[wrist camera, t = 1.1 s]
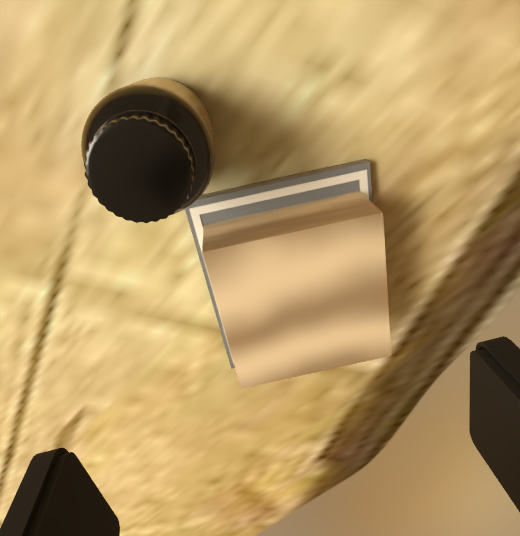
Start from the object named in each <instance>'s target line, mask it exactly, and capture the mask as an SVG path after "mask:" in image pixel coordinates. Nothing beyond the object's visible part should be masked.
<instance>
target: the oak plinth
mask: <svg viewBox="0 0 520 536" xmlns="http://www.w3.org/2000/svg"><path fill="white" fill-rule="evenodd" d="M202 254H203V257H204V261H205V264H206V268H207V271H208V275H209V278H210V282H211V285H212V289H213V292H214V296H215V299H216V303H217V306H218V310H219V313H220V317H221V320H222V324H223V327H224V331H225V334H226V338H227V341H228V345H229V348H230V352H231V355H232V359H233V362H234V366H235V369H236V373H237V376H238V380H239V383H240V387H241V389H242V388H247V387H251V386H256V385H261V384H265V383H270V382H274V381H279V380H283V379H288V378H292V377H297V376H301V375H306V374H310V373H315V372H319V371H324V370H328V369H333V368H337V367H342V366H346V365H351V364H355V363H360V362H364V361H369V360H373V359H378V358H382V357H387V356H391V342H390V325H389V307H388V290H387V272H386V255H385V237H384V220H383V212H382V211H381V210H380V209H379V208H377V207H376V206H375V205H374V204H373V203H372V202H371V201H370V200H368V199H367V198H366V197H365V196H364V195H363V194H362V193H361V192H359V191H356V192H352V193H347V194H343V195H338V196H334V197H329V198H325V199H320V200H315V201H311V202H306V203H302V204H297V205H293V206H288V207H284V208H279V209H274V210H270V211H265V212H261V213H256V214H252V215H247V216H243V217H238V218H233V219H229V220H224V221H220V222H215V223H211V224H206V225H204V228H203V246H202Z"/></svg>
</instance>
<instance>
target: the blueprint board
mask: <svg viewBox="0 0 520 536" xmlns="http://www.w3.org/2000/svg"><path fill="white" fill-rule="evenodd" d="M356 191H359V192H361V193H362V194H363V195H364V196H365V197H366V198H367V199H368V200H370V201H371V202H372V203H373V199H372V185H371V170H370V162H369V161H368V160H366V159H364V160H359V161H355V162H350V163H346V164H341V165H336V166H332V167H327V168H323V169H318V170H314V171H309V172H305V173H300V174H295V175H291V176H286V177H282V178H277V179H273V180H268V181H264V182H259V183H254V184H250V185H245V186H241V187H236V188H232V189H227V190H222V191H218V192H213V193H209V194H204V195H201V196H200V197H199V198H198V199H197V200H196V201H195V202H194V203H193V204H192V205H190V206H189V207H187V208H186V209H185V210H186V214H187V217H188V220H189V224H190V227H191V231H192V234H193V238H194V241H195V244H196V248H197V251H198V255H199V258H200V262H201V265H202V268H203V272H204V275H205V279H206V282H207V286H208V289H209V293H210V296H211V299H212V303H213V306H214V310H215V313H216V317H217V320H218V323H219V327H220V330H221V334H222V337H223V341H224V344H225V348H226V351H227V354H228V358H229V361H230V365H231V368H235V366H234V362H233V359H232V355H231V352H230V348H229V345H228V341H227V338H226V334H225V331H224V327H223V324H222V320H221V317H220V313H219V310H218V306H217V303H216V299H215V296H214V292H213V289H212V285H211V282H210V278H209V275H208V271H207V268H206V264H205V261H204V257H203V254H202V246H203V228H204V225H206V224H211V223H215V222H220V221H224V220H229V219H233V218H238V217H243V216H247V215H252V214H256V213H261V212H265V211H270V210H274V209H279V208H284V207H288V206H293V205H297V204H302V203H306V202H311V201H315V200H320V199H325V198H329V197H334V196H338V195H343V194H347V193H352V192H356Z"/></svg>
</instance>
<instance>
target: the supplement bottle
mask: <svg viewBox="0 0 520 536" xmlns="http://www.w3.org/2000/svg"><path fill="white" fill-rule="evenodd" d="M81 146H82V157H83V161H84V166H85V169H86V172H85V176H86V178H87V179H88V186H89V187H90V188H91V189H92V193H93V195H94V196H95V197H96V198H98V201H99V203H100V204H102V205H104V206H105V207H106V209H107V210H108V211H110V212H113V213H114V214H115V215H116V216H118V217H122V218H124V219H125V220H132V221H134V222H136V223H138V222H144V223H148V222H150V221H154V222H157V221H158V220H160V219H166V218H167V217H168V216H169V215H172V214H175V213H178V212H180V211H182V210H184V209H186V208H187V207H189V206H190V205H192V204H193V203H194V202H195V201H196V200H197V199H198V198H199V197H200V196H201V195H202V194H203V192H204V191H205V189H206V188H207V186H208V184H209V182H210V179H211V176H212V173H213V168H214V161H215V150H214V139H213V129H212V124H211V120H210V116H209V114H208V111H207V109H206V107H205V106H204V104H203V102H202V101H201V100H200V99H199V97H198V96H197V95H196V94H195V93H194V92H193V91H192V90H190V89H189V88H188V87H186V86H184V85H183V84H181V83H179V82H176V81H173V80H170V79H165V78H150V79H145V80H141V81H138V82H136V83H133V84H130V85H128V86H125V87H123V88H120V89H118V90H116V91H114V92H112V93H110V94H109V95H107V96H106V97H104V98H103V99H102V100H101V101H100V102H99V103H98V104H97V105H96V106H95V107H94V109H93V110H92V111H91V113H90V115H89V117H88V118H87V121H86V123H85V126H84V129H83V134H82V144H81Z"/></svg>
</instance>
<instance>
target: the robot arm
mask: <svg viewBox="0 0 520 536" xmlns="http://www.w3.org/2000/svg"><path fill="white" fill-rule="evenodd" d="M470 435H471V438H472V440H473V443H474V445H475V446H476V448H477V450H478V451H479V452H480V454H481V456H482V457H483V458H484V460H485V461H486V463H487V464H488V466H489V467H490V469H491V470H492V472H493V473H494V475H495V476H496V478H497V479H498V481H499V482H500V483H501V485H502V486H503V488H504V489H505V491H506V492H507V494H508V495H509V497H510V498H511V500H512V501H513V503H514V504H515V506H516V507H517V509H518V510H519V512H520V349H519V348H518V347H517V346H516V345H515V344H514V343H513V342H512V341H511V340H510V339H508V338H507V337H499V338H495V339H491V340H488V341H484V342H480V343H478V344H477V345H476V350H475V351H472V352H471V353H470ZM119 534H120V526H119V521H118V518H117V517H116V515H115V514H114V512H113V511H112V509H111V508H110V506H109V505H108V503H107V502H106V500H105V499H104V497H103V495H102V494H101V492H100V491H99V489H98V488H97V486H96V485H95V483H94V482H93V480H92V479H91V477H90V476H89V474H88V473H87V471H86V470H85V468H84V467H83V465H82V464H81V462H80V461H79V459H78V458H77V456H76V455H75V454H74V453H73V452H70V453H69V452H68V451H67V450H66V449H65V448H59V449H55V450H51V451H47V452H43V453H39V454H36V455H35V456H34V457H33V459H32V460H31V462H30V464H29V466H28V469H27V471H26V473H25V475H24V477H23V480H22V482H21V484H20V486H19V489H18V491H17V493H16V495H15V497H14V500H13V502H12V504H11V506H10V508H9V511H8V513H7V515H6V517H5V519H4V522H3V524H2V526H1V528H0V536H119Z"/></svg>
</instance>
